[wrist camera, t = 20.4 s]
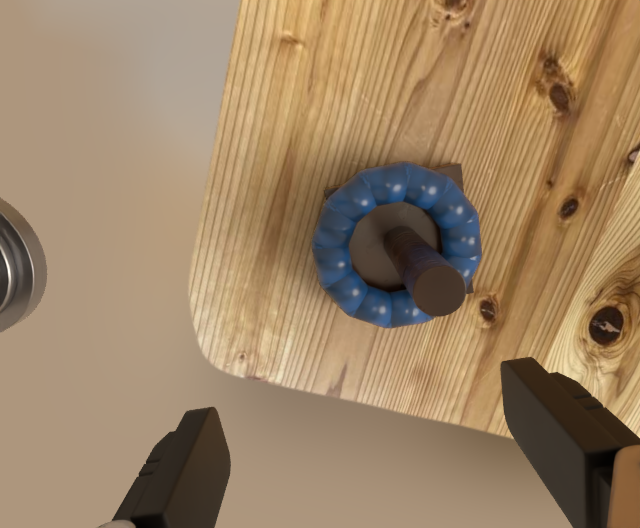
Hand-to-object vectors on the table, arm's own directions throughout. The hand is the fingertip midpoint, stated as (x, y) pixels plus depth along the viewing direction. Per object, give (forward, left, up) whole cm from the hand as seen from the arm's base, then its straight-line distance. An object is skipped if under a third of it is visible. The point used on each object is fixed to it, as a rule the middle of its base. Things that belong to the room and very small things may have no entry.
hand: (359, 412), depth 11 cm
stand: (+4, 0, -19) cm, 19 cm away
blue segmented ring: (+4, 0, -16) cm, 17 cm away
